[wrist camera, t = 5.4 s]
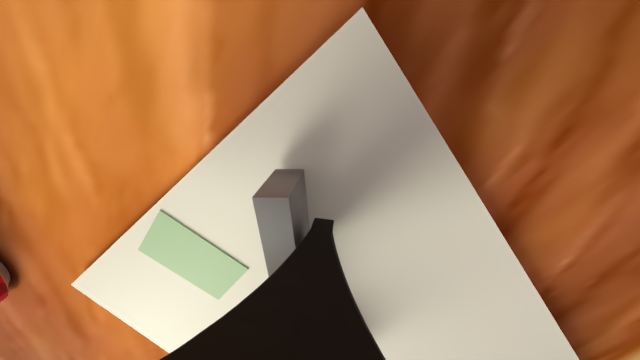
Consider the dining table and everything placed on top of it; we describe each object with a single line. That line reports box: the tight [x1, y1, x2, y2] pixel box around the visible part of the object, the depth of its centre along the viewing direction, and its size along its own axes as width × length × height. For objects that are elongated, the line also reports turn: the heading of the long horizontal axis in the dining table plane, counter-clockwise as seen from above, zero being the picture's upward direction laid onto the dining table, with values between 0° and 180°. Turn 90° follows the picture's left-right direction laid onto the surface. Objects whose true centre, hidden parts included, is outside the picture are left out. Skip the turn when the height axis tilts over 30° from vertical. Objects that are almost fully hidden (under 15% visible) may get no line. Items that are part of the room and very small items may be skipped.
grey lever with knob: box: [252, 169, 310, 276], centre depth 11 cm, size 14×5×3 cm, turn 4°
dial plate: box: [71, 7, 579, 360], centre depth 15 cm, size 24×24×1 cm
